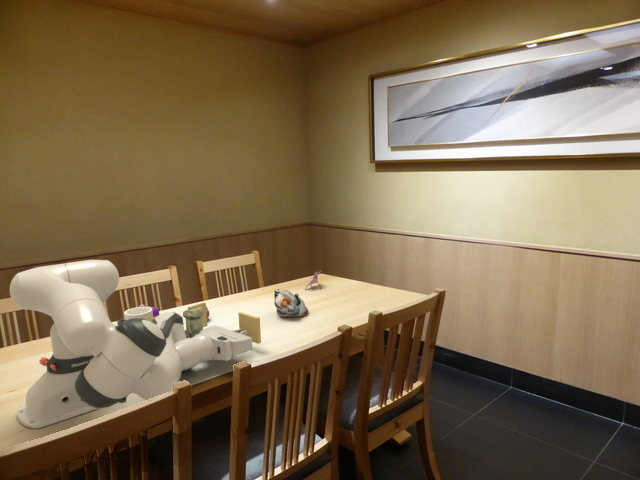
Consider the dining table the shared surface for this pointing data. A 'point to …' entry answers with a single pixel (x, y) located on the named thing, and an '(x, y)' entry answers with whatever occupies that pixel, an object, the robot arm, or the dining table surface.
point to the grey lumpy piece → (289, 304)
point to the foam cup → (139, 313)
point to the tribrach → (194, 319)
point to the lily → (314, 280)
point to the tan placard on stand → (250, 326)
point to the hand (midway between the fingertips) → (244, 331)
